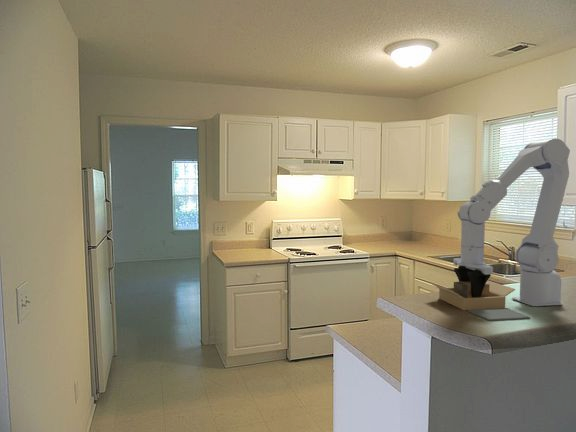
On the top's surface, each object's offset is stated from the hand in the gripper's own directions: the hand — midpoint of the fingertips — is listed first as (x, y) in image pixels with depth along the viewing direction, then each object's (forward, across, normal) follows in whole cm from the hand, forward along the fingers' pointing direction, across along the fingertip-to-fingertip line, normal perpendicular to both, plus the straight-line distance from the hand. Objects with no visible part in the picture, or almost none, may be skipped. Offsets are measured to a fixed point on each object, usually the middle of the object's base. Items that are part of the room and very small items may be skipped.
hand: (471, 296), depth 112 cm
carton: (+2, 0, 0) cm, 2 cm away
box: (+1, 0, 0) cm, 1 cm away
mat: (+2, +11, 0) cm, 11 cm away
